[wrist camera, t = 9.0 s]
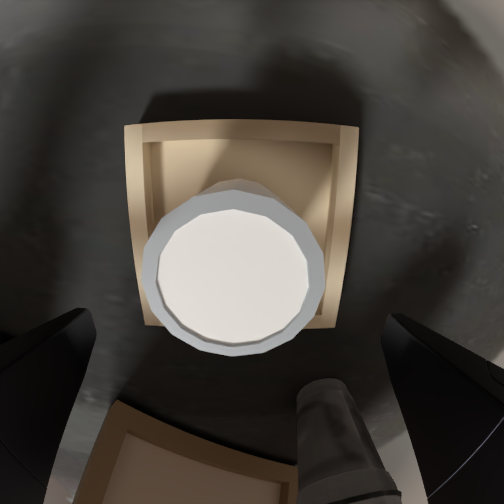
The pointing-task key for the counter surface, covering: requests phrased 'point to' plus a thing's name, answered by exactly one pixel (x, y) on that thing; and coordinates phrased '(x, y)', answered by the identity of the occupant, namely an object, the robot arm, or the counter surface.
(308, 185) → the birch tray
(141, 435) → the photo frame
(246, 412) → the counter surface
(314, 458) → the beverage cup
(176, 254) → the white tapered cup
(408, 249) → the counter surface
